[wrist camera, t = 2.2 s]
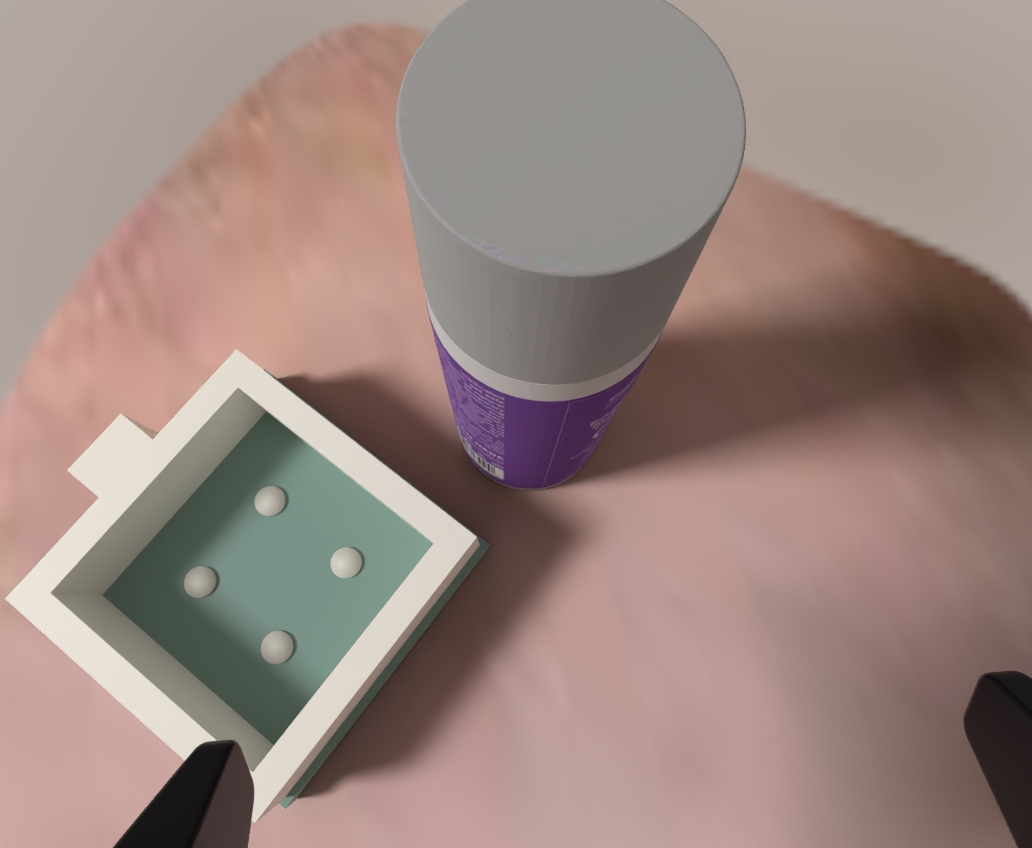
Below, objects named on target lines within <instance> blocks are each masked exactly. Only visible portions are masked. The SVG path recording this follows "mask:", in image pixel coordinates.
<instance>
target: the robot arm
mask: <svg viewBox="0 0 1032 848" xmlns="http://www.w3.org/2000/svg"><path fill="white" fill-rule="evenodd" d="M963 722H964V729H965V733H966V736H967V739H968V741H969V743H970V745H971V747H972V749H973V752H974V754H975V756H976V758H977V760H978V763H979V765H980V767H981V769H982V771H983V773H984V776H985V778H986V780H987V782H988V784H989V787H990V789H991V791H992V793H993V795H994V797H995V800H996V802H997V804H998V806H999V808H1000V811H1001V813H1002V815H1003V817H1004V819H1005V821H1006V824H1007V826H1008V828H1009V830H1010V832H1011V835H1012V837H1013V839H1014V841H1015V843H1016V845H1017V847H1018V848H1032V678H1030V677H1029V676H1027V675H1025V674H1023V673H1021V672H1017V671H1002V672H991V673H985V674H984V675H982V676H981V677H980V678H979V680H978V682H977V684H976V687H975V689H974V691H973V694H972V696H971V699H970V701H969V704H968V706H967V709H966V711H965V714H964V721H963ZM253 805H254V783H253V779H252V776H251V773H250V771H249V768H248V765H247V763H246V760H245V757H244V755H243V752H242V749H241V747H240V745H239V743H238V742H237V741H235V740H220V741H208V742H204V743H202V744H200V745H199V746H197V747H196V748H195V749H194V750H193V752H192V753H191V754H190V755H189V756H188V758H187V759H186V760H185V761H184V762H183V764H182V765H181V766H180V767H179V768H178V770H177V771H176V772H175V773H174V774H173V776H172V777H171V778H170V779H169V780H168V782H167V783H166V784H165V785H164V786H163V788H162V789H161V790H160V791H159V793H158V794H157V795H156V796H155V797H154V799H153V800H152V801H151V802H150V803H149V805H148V806H147V807H146V808H145V809H144V811H143V812H142V813H141V814H140V815H139V817H138V818H137V819H136V820H135V821H134V823H133V824H132V825H131V826H130V827H129V829H128V830H127V831H126V832H125V833H124V835H123V836H122V837H121V838H120V839H119V841H118V842H117V843H116V844H115V846H114V847H113V848H248V841H249V834H250V827H251V820H252V812H253Z"/></svg>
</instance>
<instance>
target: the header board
mask: <svg viewBox="0 0 1032 848" xmlns="http://www.w3.org/2000/svg"><path fill="white" fill-rule="evenodd" d="M67 471H69V472H70V473H71V474H72V475H73V476H74V477H76V478H77V479H78V480H79V481H80V482H81V483H83V484H84V485H85V486H86V487H87V488H89V489H90V490H91V491H92V492H93V493H94V494H96V495H97V496H98V497H99V498H98V499H97V500H96V501H95V502H94V503H93V505H92V506H91V507H90V508H89V509H88V510H87V511H86V512H85V513H84V514H83V515H82V516H81V517H80V519H79V520H78V521H77V522H76V523H75V524H74V525H73V526H72V527H71V528H70V529H69V530H68V531H67V533H66V534H65V535H64V536H63V537H62V538H61V539H60V540H59V541H58V542H57V543H56V544H55V546H54V547H53V548H52V549H51V550H50V551H49V552H48V553H47V554H46V555H45V556H44V557H43V558H42V560H41V561H40V562H39V563H38V564H37V565H36V566H35V567H34V568H33V569H32V570H31V571H30V572H29V574H28V575H27V576H26V577H25V578H24V579H23V580H22V581H21V582H20V583H19V584H18V585H17V586H16V588H15V589H14V590H13V591H12V592H11V593H10V594H9V595H8V596H7V597H6V598H5V599H6V600H7V601H8V602H9V603H10V604H11V605H13V606H14V607H15V608H16V609H17V610H18V611H19V612H20V613H21V614H23V615H24V616H25V617H26V618H27V619H28V620H29V621H30V622H31V623H33V624H34V625H35V626H36V627H37V628H38V629H39V630H40V631H41V632H43V633H44V634H45V635H46V636H47V637H48V638H49V639H50V640H51V641H53V642H54V643H55V644H56V645H57V646H58V647H59V648H60V649H61V650H63V651H64V652H65V653H66V654H67V655H68V656H69V657H70V658H71V659H73V660H74V661H75V662H76V663H77V664H78V665H79V666H80V667H81V668H83V669H84V670H85V671H86V672H87V673H88V674H89V675H90V676H91V677H93V678H94V679H95V680H96V681H97V682H98V683H99V684H100V685H101V686H103V687H104V688H105V689H106V690H107V691H108V692H109V693H110V694H111V695H113V696H114V697H115V698H116V699H117V700H118V701H119V702H120V703H121V704H123V705H124V706H125V707H126V708H127V709H128V710H129V711H130V712H131V713H133V714H134V715H135V716H136V717H137V718H138V719H139V720H140V721H141V722H143V723H144V724H145V725H146V726H147V727H148V728H149V729H150V730H151V731H153V732H154V733H155V734H156V735H157V736H158V737H159V738H160V739H161V740H163V741H164V742H165V743H166V744H167V745H168V746H169V747H170V748H171V749H173V750H174V751H175V752H176V753H177V754H178V755H179V756H180V757H181V758H183V759H184V760H186V759H187V758H188V756H189V755H190V754H191V753H192V752H193V750H194V749H195V748H196V747H197V746H199V745H200V744H202V743H204V742H208V741H220V740H235V741H237V742H238V743H239V745H240V747H241V749H242V752H243V755H244V757H245V760H246V763H247V765H248V768H249V771H250V773H251V776H252V779H253V783H254V805H253V812H252V820H251V821H253V822H254V823H256V822H257V821H258V820H259V819H260V818H262V817H263V816H264V815H265V814H266V813H267V812H269V811H270V810H271V809H272V808H273V807H274V806H276V805H277V804H278V803H280V804H281V805H282V806H283V807H284V808H285V809H286V808H287V807H288V806H289V805H290V804H291V803H292V802H294V801H295V800H296V799H297V797H298V796H299V795H300V793H301V792H302V791H303V789H304V788H305V787H306V786H307V784H308V783H309V782H310V780H311V779H312V778H313V776H314V775H315V774H316V772H317V771H318V770H319V769H320V767H321V766H322V765H323V763H324V762H325V761H326V759H327V758H328V757H329V756H330V754H331V753H332V752H333V750H334V749H335V748H336V746H337V745H338V744H339V743H340V741H341V740H342V739H343V737H344V736H345V735H346V733H347V732H348V731H349V730H350V728H351V727H352V726H353V724H354V723H355V722H356V720H357V719H358V718H359V717H360V715H361V714H362V713H363V711H364V710H365V709H366V707H367V706H368V705H369V704H370V702H371V701H372V700H373V698H374V697H375V696H376V694H377V693H378V692H379V691H380V689H381V688H382V687H383V685H384V684H385V683H386V681H387V680H388V679H389V678H390V676H391V675H392V674H393V672H394V671H395V670H396V668H397V667H398V666H399V665H400V663H401V662H402V661H403V659H404V658H405V657H406V655H407V654H408V653H409V651H410V650H411V649H412V648H413V646H414V645H415V644H416V642H417V641H418V640H419V638H420V637H421V636H422V635H423V633H424V632H425V631H426V629H427V628H428V627H429V625H430V624H431V623H432V622H433V620H434V619H435V618H436V616H437V615H438V614H439V612H440V611H441V610H442V609H443V607H444V606H445V605H446V603H447V602H448V601H449V599H450V598H451V597H452V596H453V594H454V593H455V592H456V590H457V589H458V588H459V586H460V585H461V584H462V583H463V581H464V580H465V579H466V577H467V576H468V575H469V573H470V572H471V571H472V570H473V568H474V567H475V566H476V564H477V563H478V562H479V560H480V559H481V558H482V557H483V555H484V554H485V553H486V551H487V550H488V549H489V547H490V546H489V544H488V543H487V542H486V541H485V540H483V539H482V538H481V537H479V536H478V535H477V534H476V533H474V532H473V531H472V530H470V529H469V528H468V527H467V526H465V525H464V524H463V523H461V522H460V521H459V520H458V519H456V518H455V517H454V516H453V515H451V514H450V513H449V512H447V511H446V510H445V509H444V508H442V507H441V506H440V505H438V504H437V503H436V502H435V501H433V500H432V499H431V498H429V497H428V496H427V495H426V494H424V493H423V492H422V491H420V490H419V489H418V488H417V487H415V486H414V485H413V484H412V483H410V482H409V481H408V480H406V479H405V478H404V477H403V476H401V475H400V474H399V473H397V472H396V471H395V470H394V469H392V468H391V467H390V466H388V465H387V464H386V463H385V462H383V461H382V460H381V459H379V458H378V457H377V456H376V455H374V454H373V453H372V452H371V451H369V450H368V449H367V448H365V447H364V446H363V445H362V444H360V443H359V442H358V441H356V440H355V439H354V438H353V437H351V436H350V435H349V434H347V433H346V432H345V431H344V430H342V429H341V428H340V427H338V426H337V425H336V424H335V423H333V422H332V421H331V420H330V419H328V418H327V417H326V416H324V415H323V414H322V413H321V412H319V411H318V410H317V409H315V408H314V407H313V406H312V405H310V404H309V403H308V402H306V401H305V400H304V399H303V398H301V397H300V396H299V395H297V394H296V393H295V392H294V391H292V390H291V389H290V388H289V387H287V386H286V385H285V384H283V383H282V382H281V381H280V380H278V379H277V378H276V377H274V376H273V375H272V374H271V373H269V372H268V371H267V370H265V369H264V370H263V369H261V368H260V367H259V366H257V365H256V364H255V363H254V362H252V361H251V360H250V359H248V358H247V357H246V356H245V355H243V354H242V353H241V352H240V351H238V350H237V349H236V350H235V351H234V352H233V354H232V355H231V356H230V357H229V358H228V359H227V360H226V361H225V362H224V363H223V364H222V365H221V367H220V368H219V369H218V370H217V371H216V372H215V373H214V374H213V375H212V376H211V377H210V378H209V379H208V381H207V382H206V383H205V384H204V385H203V386H202V387H201V388H200V389H199V390H198V391H197V392H196V393H195V395H194V396H193V397H192V398H191V399H190V400H189V401H188V402H187V403H186V404H185V405H184V406H183V407H182V409H181V410H180V411H179V412H178V413H177V414H176V415H175V416H174V417H173V418H172V419H171V420H170V422H169V423H168V424H167V425H166V426H165V427H164V428H163V429H162V430H161V431H160V432H159V433H158V432H156V431H154V430H152V429H150V428H148V427H146V426H144V425H142V424H140V423H138V422H137V421H135V420H133V419H131V418H129V417H127V416H125V415H123V414H120V415H119V416H118V417H117V418H116V419H115V420H114V421H113V422H112V424H111V425H110V426H109V427H108V428H107V429H106V430H105V431H104V432H103V433H102V434H101V435H100V436H99V437H98V438H97V439H96V440H95V441H94V443H93V444H92V445H91V446H90V447H89V448H88V449H87V450H86V451H85V452H84V453H83V454H82V455H81V456H80V457H79V458H78V459H77V460H76V461H75V463H74V464H73V465H72V466H71V467H70V468H69V469H68V470H67Z"/></svg>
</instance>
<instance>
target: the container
mask: <svg viewBox="0 0 1032 848" xmlns="http://www.w3.org/2000/svg"><path fill="white" fill-rule="evenodd" d="M396 131H397V140H398V146H399V152H400V157H401V163H402V168H403V174H404V179H405V185H406V191H407V196H408V202H409V207H410V213H411V218H412V224H413V229H414V235H415V240H416V246H417V251H418V257H419V263H420V268H421V274H422V279H423V285H424V290H425V296H426V303H427V309H428V313H429V317H430V321H431V325H432V329H433V333H434V337H435V341H436V345H437V349H438V353H439V357H440V361H441V365H442V370H443V374H444V378H445V382H446V386H447V390H448V394H449V398H450V402H451V406H452V410H453V414H454V418H455V422H456V426H457V430H458V434H459V438H460V440H461V443H462V446H463V448H464V450H465V452H466V454H467V456H468V457H469V459H470V461H471V462H472V463H473V464H474V466H475V467H476V468H477V469H478V470H479V471H480V472H481V473H482V474H484V475H485V476H486V477H488V478H489V479H491V480H492V481H494V482H496V483H498V484H500V485H502V486H505V487H508V488H511V489H516V490H523V491H536V490H543V489H547V488H551V487H554V486H557V485H559V484H561V483H563V482H565V481H567V480H568V479H570V478H571V477H573V476H574V475H575V474H576V473H578V472H579V471H580V470H581V469H582V468H583V466H584V465H585V464H586V463H587V461H588V460H589V459H590V457H591V456H592V454H593V453H594V451H595V449H596V447H597V446H598V444H599V442H600V440H601V439H602V437H603V435H604V434H605V432H606V430H607V428H608V427H609V425H610V423H611V421H612V420H613V418H614V416H615V415H616V413H617V411H618V409H619V408H620V406H621V404H622V402H623V401H624V399H625V397H626V395H627V394H628V392H629V390H630V389H631V387H632V385H633V383H634V382H635V380H636V378H637V376H638V375H639V373H640V371H641V370H642V368H643V366H644V364H645V363H646V361H647V359H648V357H649V356H650V354H651V352H652V351H653V349H654V347H655V345H656V343H657V342H658V340H659V338H660V336H661V333H662V331H663V329H664V327H665V325H666V323H667V320H668V318H669V316H670V314H671V312H672V310H673V308H674V306H675V304H676V302H677V300H678V298H679V296H680V294H681V292H682V290H683V288H684V286H685V284H686V282H687V280H688V278H689V276H690V274H691V272H692V270H693V268H694V266H695V264H696V262H697V260H698V258H699V256H700V254H701V252H702V250H703V248H704V246H705V244H706V241H707V239H708V237H709V235H710V233H711V231H712V229H713V227H714V225H715V223H716V221H717V219H718V217H719V215H720V213H721V211H722V209H723V207H724V205H725V203H726V201H727V199H728V197H729V195H730V193H731V191H732V189H733V187H734V184H735V182H736V180H737V177H738V174H739V171H740V168H741V165H742V161H743V156H744V150H745V141H746V140H745V139H746V122H745V113H744V106H743V100H742V97H741V94H740V91H739V87H738V84H737V82H736V79H735V77H734V74H733V73H732V70H731V68H730V66H729V64H728V63H727V61H726V59H725V57H724V56H723V54H722V53H721V51H720V50H719V49H718V47H717V46H716V44H715V43H714V42H713V41H712V40H711V39H710V37H709V36H708V35H707V34H706V33H705V32H704V31H703V30H702V29H701V28H700V27H699V26H698V25H697V24H696V23H695V22H694V21H693V20H692V19H690V18H689V17H688V16H686V15H685V14H684V13H683V12H681V11H680V10H679V9H678V8H676V7H675V6H673V5H671V4H669V3H668V2H666V1H665V0H468V1H467V2H465V3H464V4H462V5H461V6H459V7H458V8H456V9H455V10H453V11H452V12H451V13H450V14H448V15H447V16H446V17H445V18H444V19H443V20H441V21H440V22H439V23H438V24H437V25H436V26H435V27H434V29H433V30H432V31H431V32H430V33H429V34H428V35H427V37H426V38H425V39H424V40H423V42H422V43H421V45H420V46H419V48H418V49H417V51H416V52H415V54H414V56H413V58H412V60H411V61H410V63H409V65H408V68H407V70H406V72H405V75H404V78H403V81H402V84H401V88H400V92H399V96H398V103H397V112H396Z"/></svg>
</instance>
